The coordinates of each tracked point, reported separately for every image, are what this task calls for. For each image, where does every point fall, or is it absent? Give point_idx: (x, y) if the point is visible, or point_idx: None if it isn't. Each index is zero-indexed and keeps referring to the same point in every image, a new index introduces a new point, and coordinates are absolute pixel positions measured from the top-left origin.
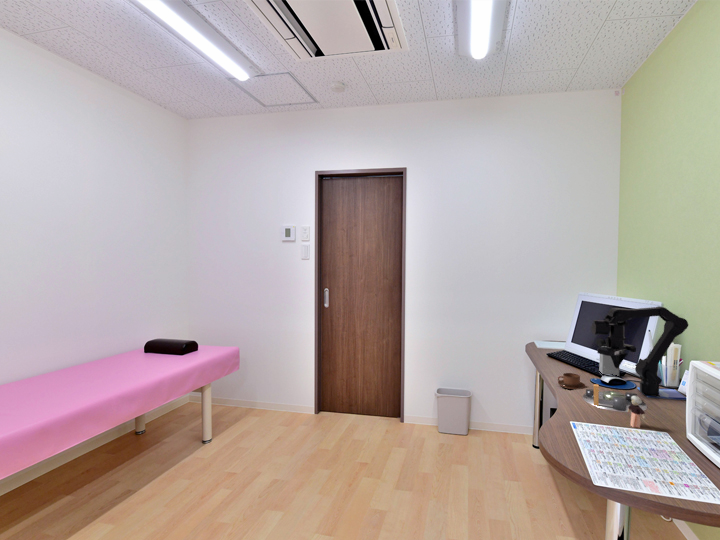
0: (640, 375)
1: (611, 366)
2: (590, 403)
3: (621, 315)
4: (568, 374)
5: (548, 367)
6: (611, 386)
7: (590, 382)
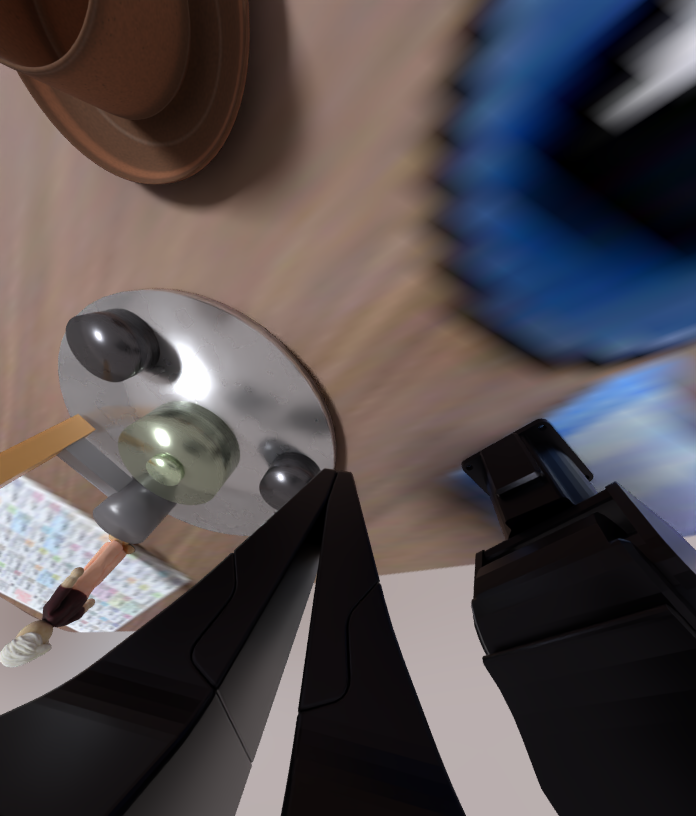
0: (521, 550)
1: None
2: (68, 402)
3: None
4: None
5: None
6: (503, 236)
7: None
